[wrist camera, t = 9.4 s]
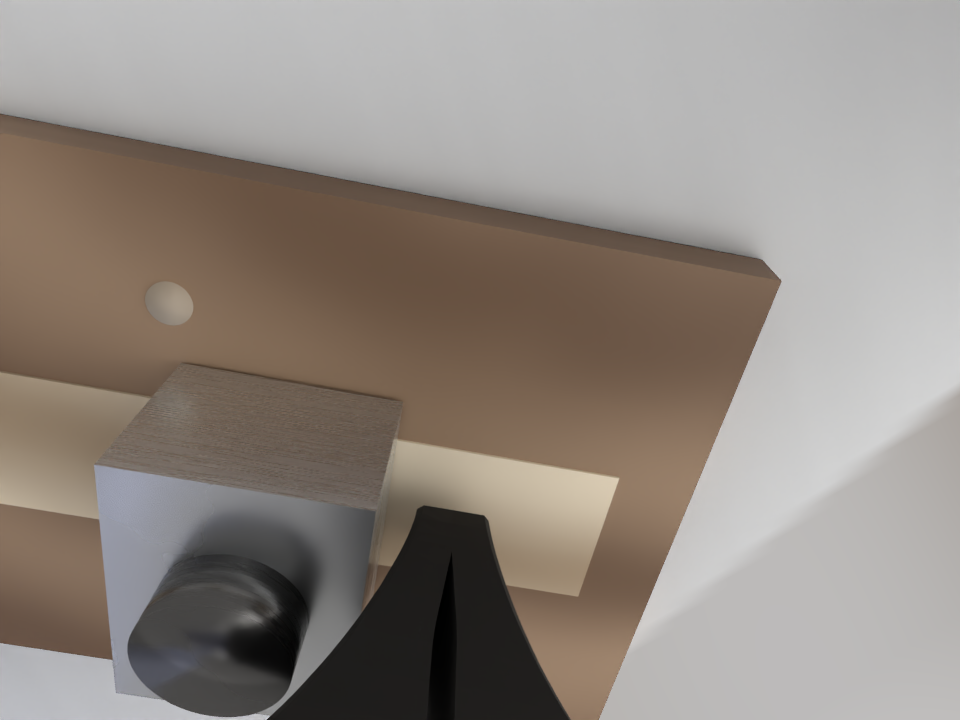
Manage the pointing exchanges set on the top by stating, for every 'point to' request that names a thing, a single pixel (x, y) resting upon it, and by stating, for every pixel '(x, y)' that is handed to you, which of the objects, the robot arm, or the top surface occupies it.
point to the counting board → (363, 368)
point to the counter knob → (240, 535)
